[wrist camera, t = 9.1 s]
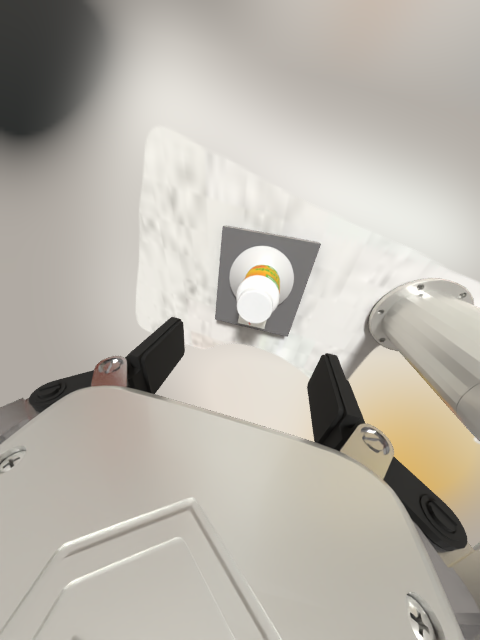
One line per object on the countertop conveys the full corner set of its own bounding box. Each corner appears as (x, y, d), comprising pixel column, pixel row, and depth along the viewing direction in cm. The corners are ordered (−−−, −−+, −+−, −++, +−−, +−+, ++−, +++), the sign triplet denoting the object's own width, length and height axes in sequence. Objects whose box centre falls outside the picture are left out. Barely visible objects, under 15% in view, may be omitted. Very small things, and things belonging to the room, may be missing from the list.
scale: (318, 242, 26) (322, 244, 23) (287, 330, 34) (287, 339, 32) (226, 225, 27) (221, 226, 25) (218, 314, 35) (213, 321, 33)
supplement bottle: (286, 271, 26) (288, 296, 18) (270, 302, 29) (266, 335, 21) (252, 257, 26) (239, 275, 18) (240, 289, 29) (224, 317, 21)
